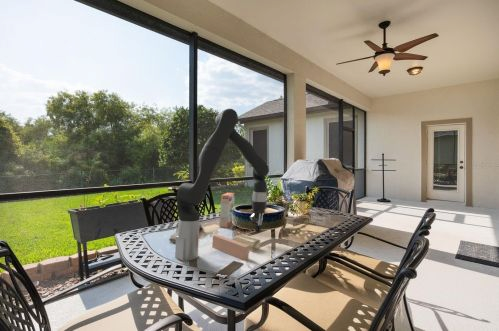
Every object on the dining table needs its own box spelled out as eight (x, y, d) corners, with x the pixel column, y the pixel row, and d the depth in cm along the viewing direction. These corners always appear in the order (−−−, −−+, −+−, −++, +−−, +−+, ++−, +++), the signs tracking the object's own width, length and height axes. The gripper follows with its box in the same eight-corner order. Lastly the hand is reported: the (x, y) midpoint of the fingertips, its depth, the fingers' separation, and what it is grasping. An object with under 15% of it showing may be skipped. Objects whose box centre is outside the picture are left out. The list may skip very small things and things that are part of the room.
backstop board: (243, 260, 124) (244, 247, 124) (212, 247, 139) (212, 235, 139) (248, 258, 126) (249, 245, 126) (216, 245, 141) (217, 234, 141)
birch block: (251, 252, 136) (252, 242, 136) (234, 245, 144) (235, 236, 144) (259, 249, 140) (260, 239, 140) (243, 243, 148) (243, 234, 148)
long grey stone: (163, 245, 143) (181, 248, 141) (164, 235, 142) (182, 238, 140) (189, 225, 177) (204, 227, 175) (190, 217, 176) (205, 219, 175)
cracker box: (228, 228, 176) (229, 195, 175) (218, 227, 177) (220, 194, 176) (233, 223, 189) (235, 192, 188) (225, 222, 191) (226, 192, 190)
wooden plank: (224, 276, 105) (213, 273, 107) (224, 280, 105) (213, 276, 107) (243, 263, 120) (233, 260, 122) (243, 266, 120) (232, 263, 122)
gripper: (261, 197, 155) (260, 228, 156) (245, 200, 145) (244, 232, 146) (272, 199, 150) (270, 231, 151) (256, 202, 140) (255, 236, 141)
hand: (257, 231), depth 148 cm, fingers closed
